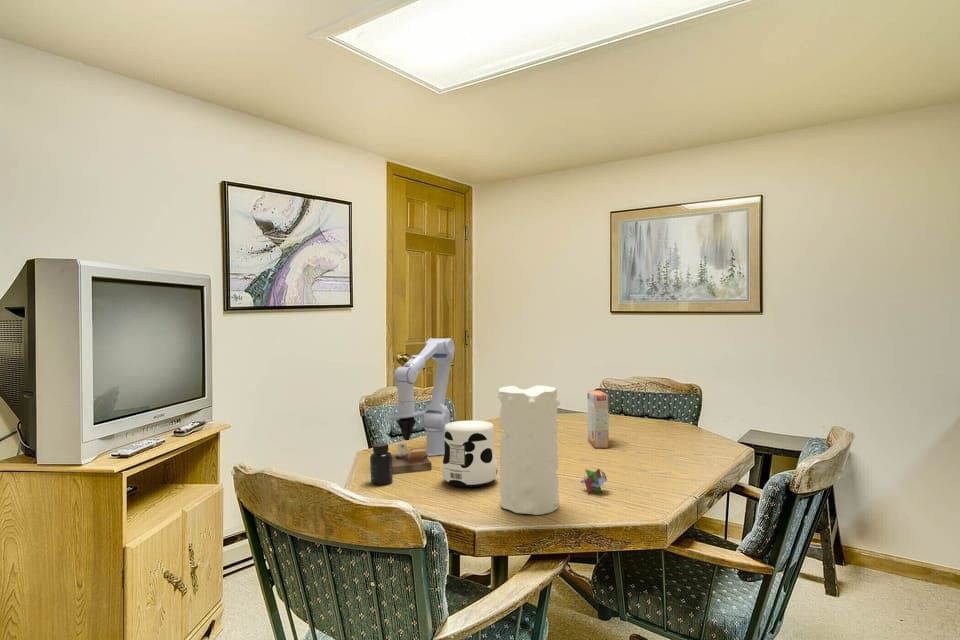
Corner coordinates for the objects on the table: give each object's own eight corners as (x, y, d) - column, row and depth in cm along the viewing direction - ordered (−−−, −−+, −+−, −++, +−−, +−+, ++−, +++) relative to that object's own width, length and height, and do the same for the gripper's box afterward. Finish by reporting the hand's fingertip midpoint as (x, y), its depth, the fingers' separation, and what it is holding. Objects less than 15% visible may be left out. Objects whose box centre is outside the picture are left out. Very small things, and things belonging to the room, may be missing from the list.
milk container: (491, 473, 178) (490, 418, 178) (502, 489, 161) (501, 428, 161) (439, 476, 175) (438, 421, 175) (445, 493, 158) (444, 432, 158)
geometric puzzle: (590, 491, 151) (601, 465, 154) (572, 485, 157) (583, 460, 159) (604, 502, 155) (614, 476, 157) (586, 495, 160) (596, 471, 163)
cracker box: (609, 448, 208) (608, 394, 208) (594, 448, 209) (593, 394, 209) (602, 440, 222) (601, 389, 222) (587, 440, 223) (586, 390, 223)
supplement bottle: (384, 478, 174) (383, 441, 174) (396, 482, 169) (396, 444, 169) (366, 483, 169) (365, 444, 169) (378, 487, 164) (377, 448, 164)
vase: (567, 515, 138) (565, 391, 138) (504, 518, 137) (502, 393, 137) (552, 494, 155) (551, 383, 155) (496, 496, 154) (495, 385, 154)
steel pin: (404, 462, 193) (404, 443, 193) (407, 464, 190) (407, 444, 190) (396, 463, 191) (396, 444, 191) (399, 465, 189) (399, 445, 189)
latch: (423, 458, 188) (422, 455, 188) (426, 450, 183) (425, 447, 184) (409, 460, 186) (408, 456, 187) (411, 452, 182) (411, 448, 182)
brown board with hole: (421, 458, 198) (421, 448, 198) (431, 470, 183) (431, 459, 183) (383, 462, 193) (383, 452, 193) (390, 474, 178) (390, 463, 178)
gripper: (419, 397, 196) (420, 435, 196) (381, 401, 188) (382, 440, 188) (428, 400, 190) (428, 438, 190) (390, 404, 182) (390, 444, 182)
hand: (406, 439), depth 188 cm, fingers closed
